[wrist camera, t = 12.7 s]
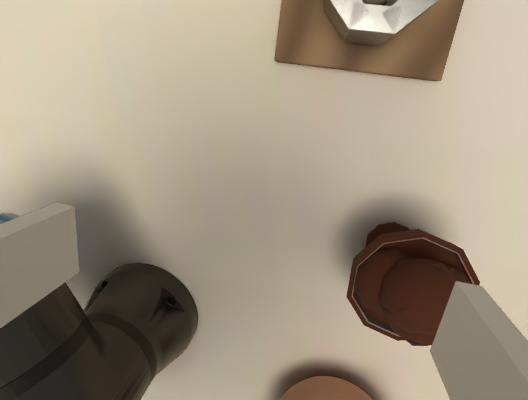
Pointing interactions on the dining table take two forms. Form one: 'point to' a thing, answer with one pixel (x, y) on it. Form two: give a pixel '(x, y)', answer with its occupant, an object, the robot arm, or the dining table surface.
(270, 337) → the dining table surface
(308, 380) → the toy
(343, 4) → the ring
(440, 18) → the shaft stand
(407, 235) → the ice cream bowl
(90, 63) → the dining table surface
